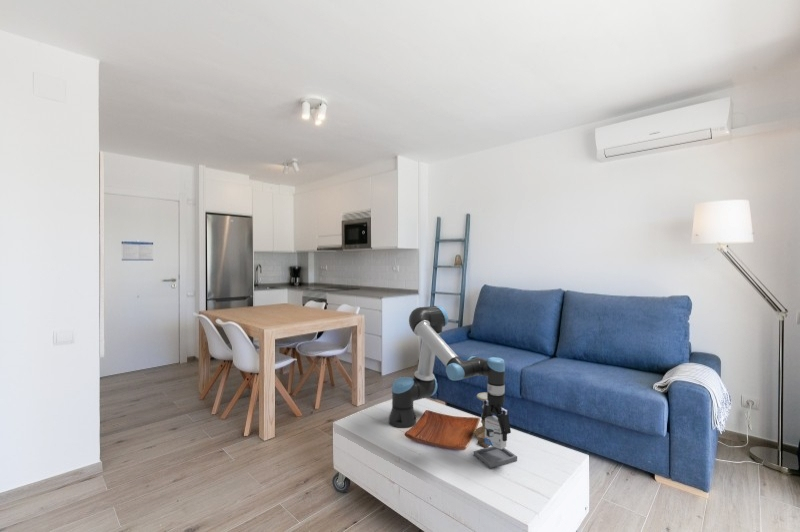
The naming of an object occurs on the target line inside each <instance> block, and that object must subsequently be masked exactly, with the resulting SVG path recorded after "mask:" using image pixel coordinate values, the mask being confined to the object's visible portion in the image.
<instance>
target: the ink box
mask: <svg viewBox="0 0 800 532" xmlns="http://www.w3.org/2000/svg"><path fill="white" fill-rule="evenodd" d="M500 433H502V432H501V428H500V425H499V421H498V418H497V417H496V415H494V414H493V415H492V416H488V417H486V418H485V444H488V445H490V447H491V446H494V447H496V448H499V449H503V448H500Z"/></svg>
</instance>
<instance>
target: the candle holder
mask: <svg viewBox="0 0 800 532" xmlns="http://www.w3.org/2000/svg"><path fill="white" fill-rule="evenodd" d="M487 393H488V391H487V392H479V393H477V394H476V398H477V400H479V401H481V402H483V403H484V401H485V400H487ZM481 408H482V409H483V408H484V404H483V405H481ZM484 417H485V416H484ZM480 422H481V424H482V426H481V425H480V427H477V428H476V429H475V430H476V431H475V430H474V435H475V437H476V438H478V436H479V435H481V434H482V433H484V434H485V423H484V420H482V419H481V421H480Z"/></svg>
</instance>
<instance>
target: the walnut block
mask: <svg viewBox="0 0 800 532" xmlns="http://www.w3.org/2000/svg"><path fill="white" fill-rule="evenodd" d="M477 445H478V446H481V447H483V448H487V447H491V445H488V444H485V434H484V433H482V434H481V435H479V436H478V437H477Z"/></svg>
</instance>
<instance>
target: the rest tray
mask: <svg viewBox="0 0 800 532" xmlns="http://www.w3.org/2000/svg"><path fill="white" fill-rule="evenodd" d="M472 456H473V457H474V458H476V459H477V460H479V461H480V462H481V463H482V464H483V465H485V466H486V467H487V468H488V469H490V470H492V469H496V468H498V467H501V466H502V467H503V466H506V465H508V464H512V463H515V462H517V461H518V456H517V455H516V454H515V453H512V451H510V450H508V449H507V448H506V447H504V448H503V449H499V448H496V447H494V446H491V445H490V446H489V447H487V448H486V447H483V448H480V449H477V450H474V451H473V455H472Z"/></svg>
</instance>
